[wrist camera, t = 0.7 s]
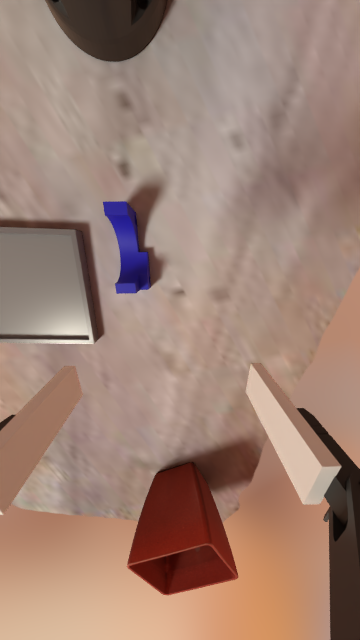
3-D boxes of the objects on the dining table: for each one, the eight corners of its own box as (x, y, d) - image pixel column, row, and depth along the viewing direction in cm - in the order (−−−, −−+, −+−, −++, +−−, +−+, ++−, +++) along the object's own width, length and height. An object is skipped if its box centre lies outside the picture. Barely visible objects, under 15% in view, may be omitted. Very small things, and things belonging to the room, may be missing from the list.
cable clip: (150, 286, 32) (145, 292, 26) (126, 287, 32) (116, 293, 26) (145, 212, 28) (137, 201, 22) (117, 213, 27) (103, 201, 22)
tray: (-44, 227, 27) (-61, 224, 25) (81, 231, 28) (74, 229, 26) (-2, 338, 34) (-12, 342, 32) (98, 339, 35) (94, 343, 33)
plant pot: (199, 450, 48) (211, 545, 32) (221, 486, 54) (240, 579, 39) (140, 469, 50) (124, 566, 35) (167, 501, 57) (164, 596, 41)
